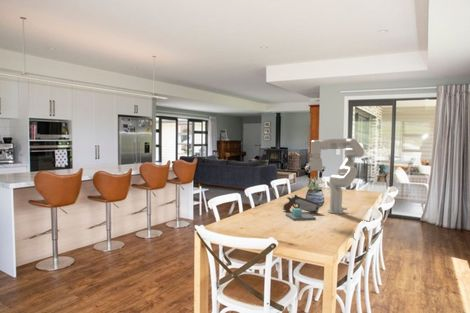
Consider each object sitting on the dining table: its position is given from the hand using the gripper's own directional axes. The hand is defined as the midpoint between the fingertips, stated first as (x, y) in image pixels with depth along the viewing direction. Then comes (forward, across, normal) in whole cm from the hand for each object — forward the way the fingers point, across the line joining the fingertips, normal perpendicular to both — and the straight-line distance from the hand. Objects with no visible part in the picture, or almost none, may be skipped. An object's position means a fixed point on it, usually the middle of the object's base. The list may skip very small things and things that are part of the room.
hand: (314, 177), depth 260 cm
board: (+30, -13, -4) cm, 33 cm away
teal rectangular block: (+29, -16, -4) cm, 33 cm away
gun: (+31, -5, +13) cm, 34 cm away
